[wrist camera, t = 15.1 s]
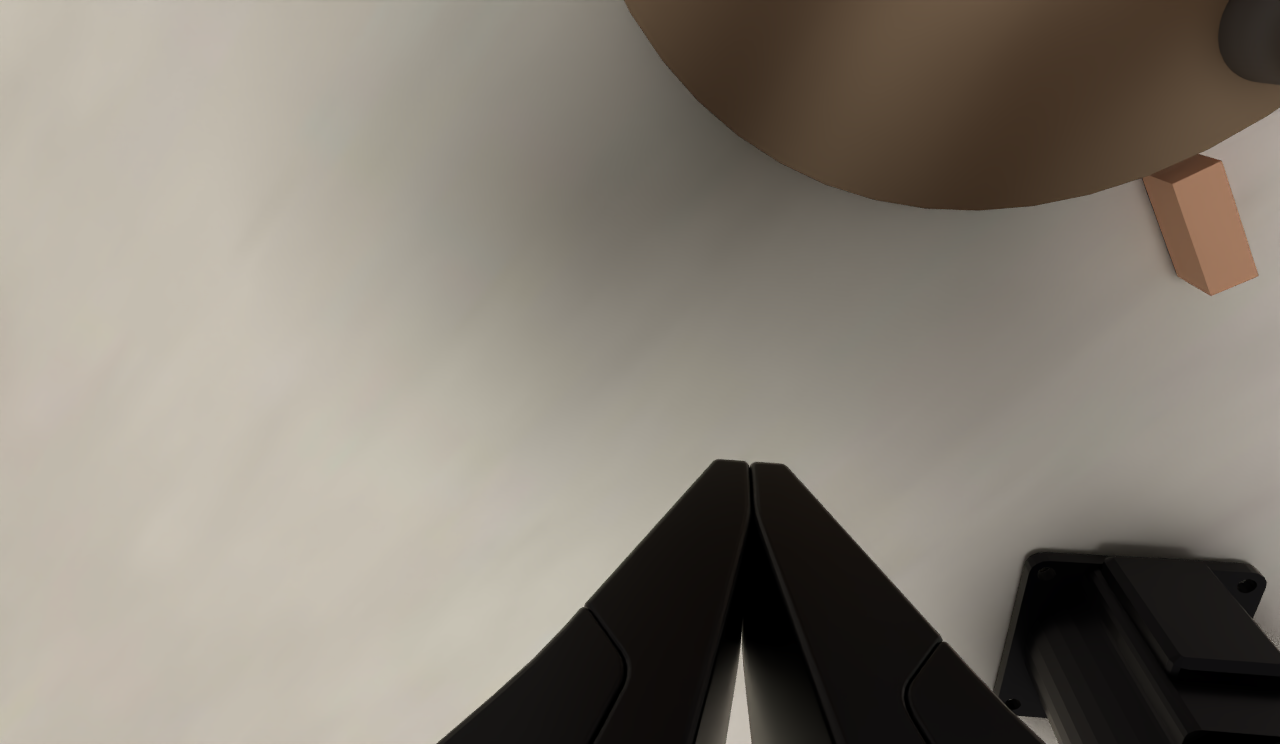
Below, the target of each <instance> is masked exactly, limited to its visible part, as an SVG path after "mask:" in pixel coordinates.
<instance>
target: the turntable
mask: <svg viewBox="0 0 1280 744" xmlns="http://www.w3.org/2000/svg"><path fill="white" fill-rule="evenodd" d="M624 1H625V3H626V5H627V7H628V9H629V11H630V13H631V15H632V16H633V17H634V19H635V20H636V22H637V23H638V25H639V26H640V28H641V29H642V31H643V32H644V34H645V35H646V37H647V38H648V40H649V41H650V43H651V44H652V46H653V47H654V49H655V50H656V52H657V53H658V55H659V56H660V58H661V59H662V61H663V62H664V63H665V64H666V65H667V66H668V67H669V69H670V70H671V71H672V72H673V73H674V74H675V75H676V76H677V78H678V79H679V80H680V81H681V82H682V83H683V84H684V86H685V87H686V88H687V89H688V90H689V91H690V92H691V94H692V95H693V96H694V97H695V98H696V99H697V100H698V101H699V102H700V103H701V104H702V105H703V106H704V107H706V108H707V109H708V110H709V111H710V112H711V113H712V114H714V115H715V116H716V117H717V118H718V119H719V120H721V121H722V122H723V123H724V124H725V125H726V126H727V127H729V128H730V129H731V130H732V131H733V132H734V133H735V134H737V135H738V136H739V137H741V138H743V139H744V140H746V141H747V142H749V143H750V144H752V145H753V146H755V147H756V148H758V149H759V150H761V151H762V152H764V153H766V154H767V155H769V156H770V157H772V158H773V159H775V160H776V161H778V162H779V163H781V164H783V165H785V166H788V167H790V168H792V169H794V170H796V171H798V172H800V173H802V174H804V175H807V176H809V177H811V178H813V179H815V180H817V181H819V182H821V183H824V184H826V185H829V186H832V187H835V188H838V189H842V190H845V191H848V192H851V193H854V194H858V195H861V196H864V197H867V198H870V199H874V200H879V201H885V202H891V203H897V204H902V205H908V206H914V207H920V208H928V209H953V210H990V209H1002V208H1014V207H1026V206H1035V205H1040V204H1045V203H1050V202H1055V201H1060V200H1065V199H1070V198H1075V197H1080V196H1085V195H1090V194H1093V193H1096V192H1099V191H1102V190H1105V189H1109V188H1112V187H1115V186H1118V185H1121V184H1124V183H1127V182H1130V181H1133V180H1137V179H1140V178H1143V177H1146V176H1149V175H1151V174H1153V173H1156V172H1158V171H1160V170H1162V169H1165V168H1167V167H1169V166H1172V165H1174V164H1176V163H1178V162H1181V161H1183V160H1185V159H1187V158H1190V157H1192V156H1194V155H1196V154H1199V153H1201V152H1203V151H1206V150H1208V149H1210V148H1211V147H1213V146H1215V145H1217V144H1218V143H1220V142H1222V141H1224V140H1226V139H1227V138H1229V137H1231V136H1233V135H1234V134H1236V133H1238V132H1240V131H1241V130H1243V129H1245V128H1247V127H1248V126H1250V125H1252V124H1254V123H1256V122H1257V121H1259V120H1261V119H1263V118H1264V117H1266V116H1268V115H1269V114H1271V113H1272V112H1274V111H1275V110H1277V109H1278V108H1279V107H1280V0H624Z"/></svg>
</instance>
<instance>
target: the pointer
mask: <svg viewBox="0 0 1280 744" xmlns="http://www.w3.org/2000/svg"><path fill="white" fill-rule="evenodd" d="M1142 179H1143V181H1144V184H1145V187H1146V190H1147V193H1148V195H1149V198H1150V201H1151V204H1152V206H1153V209H1154V212H1155V215H1156V218H1157V220H1158V223H1159V226H1160V229H1161V232H1162V234H1163V237H1164V240H1165V243H1166V245H1167V248H1168V251H1169V254H1170V257H1171V259H1172V262H1173V265H1174V268H1175V270H1176V273H1177V276H1178V277H1180V278H1181V279H1183V280H1185V281H1186V282H1188V283H1190V284H1191V285H1193V286H1195V287H1197V288H1198V289H1200V290H1202V291H1203V292H1205V293H1207V294H1208V295H1210V296H1212V295H1215V294H1217V293H1219V292H1222V291H1224V290H1226V289H1229V288H1231V287H1234V286H1236V285H1238V284H1241V283H1243V282H1245V281H1248V280H1250V279H1253V278H1255V277H1257V276H1258V273H1257V270H1256V266H1255V263H1254V260H1253V257H1252V254H1251V251H1250V248H1249V245H1248V241H1247V238H1246V235H1245V232H1244V229H1243V226H1242V223H1241V220H1240V216H1239V213H1238V210H1237V207H1236V204H1235V201H1234V198H1233V195H1232V191H1231V188H1230V185H1229V182H1228V179H1227V176H1226V173H1225V170H1224V166H1223V163H1222V161H1221V160H1217V159H1214V158H1210V157H1207V156H1203V155H1200V154H1196V155H1194V156H1192V157H1190V158H1187V159H1185V160H1183V161H1181V162H1178V163H1176V164H1174V165H1172V166H1169V167H1167V168H1165V169H1162V170H1160V171H1158V172H1156V173H1153V174H1151V175H1149V176H1146V177H1143V178H1142Z"/></svg>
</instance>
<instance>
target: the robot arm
mask: <svg viewBox="0 0 1280 744" xmlns="http://www.w3.org/2000/svg"><path fill="white" fill-rule="evenodd" d="M1046 567H1049V569H1048V570H1046V571H1044V572H1039V570H1041V569H1042V568H1046ZM1243 580H1246V581H1245V582H1243V583H1240V582H1241V581H1243ZM1266 583H1267V582H1266V580H1265V578H1264V577H1263V575H1262V574H1261V573H1260V572H1259V571H1258V570H1257V569H1256V568H1255V567H1253V566H1252V565H1249V564H1244V563H1226V562H1208V561H1197V560H1179V559H1161V558H1144V557H1126V556H1102V555H1085V554H1067V553H1050V552H1042V553H1037V554H1034V555H1032V556H1030V557H1029V558H1028V559H1027V560H1026V562H1025V564H1024V568H1023V572H1022V576H1021V581H1020V585H1019V589H1018V593H1017V597H1016V601H1015V606H1014V610H1013V614H1012V618H1011V622H1010V626H1009V630H1008V635H1007V639H1006V643H1005V647H1004V651H1003V655H1002V660H1001V664H1000V668H999V672H998V676H997V680H996V684H995V689H994V692H993V691H992V690H991V689H990V688H989V687H988V686H987V685H986V684H985V683H984V682H983V681H982V680H981V679H980V678H979V677H978V676H977V674H976V673H975V672H974V671H973V670H972V669H971V668H970V667H969V666H968V665H967V664H966V663H965V662H964V661H963V659H962V658H961V657H960V656H959V655H958V654H957V653H956V652H955V651H954V649H953V648H952V647H951V646H950V645H949V644H948V643H947V642H942V637H941V636H940V634H939V633H938V632H937V631H936V630H935V629H934V628H933V627H932V626H931V625H930V623H929V622H928V621H927V620H926V619H925V618H924V617H923V616H922V615H921V614H920V612H919V611H918V610H917V609H916V608H915V607H914V606H913V605H912V604H911V602H910V601H909V600H908V599H907V598H906V597H905V596H904V595H903V594H902V593H901V591H900V590H899V589H898V588H897V587H896V586H895V585H894V584H893V583H892V582H891V580H890V579H889V578H888V577H887V576H886V575H885V574H884V573H883V572H882V570H881V569H880V568H879V567H878V566H877V565H876V564H875V563H874V562H873V561H872V559H871V558H870V557H869V556H868V555H867V554H866V553H865V552H864V551H863V550H862V548H861V547H860V546H859V545H858V544H857V543H856V542H855V541H854V540H853V539H852V537H851V536H850V535H849V534H848V533H847V532H846V531H845V530H844V529H843V527H842V526H841V525H840V524H839V523H838V522H837V521H836V520H835V519H834V518H833V516H832V515H831V514H830V513H829V512H828V511H827V510H826V509H825V508H824V507H823V505H822V504H821V503H820V502H819V501H818V500H817V499H816V498H815V497H814V495H813V494H812V493H811V492H810V491H809V490H808V489H807V488H806V487H805V486H804V484H803V483H802V482H801V481H800V480H799V479H798V478H797V477H796V476H795V475H794V473H793V472H792V471H791V470H790V469H789V468H788V467H787V466H786V465H784V464H779V463H765V462H754V463H752V464H751V466H750V468H749V465H748V463H747V462H745V461H737V460H723V459H717V460H715V461H713V462H712V463H711V464H710V465H709V467H708V468H707V469H706V470H705V471H704V472H703V473H702V474H701V476H700V477H699V478H698V479H697V480H696V481H695V482H694V483H693V484H692V486H691V487H690V488H689V489H688V490H687V491H686V492H685V493H684V494H683V496H682V497H681V498H680V499H679V500H678V501H677V502H676V503H675V504H674V506H673V507H672V508H671V509H670V510H669V511H668V512H667V513H666V514H665V516H664V517H663V518H662V519H661V520H660V521H659V522H658V523H657V524H656V526H655V527H654V528H653V529H652V530H651V531H650V532H649V533H648V534H647V536H646V537H645V538H644V539H643V540H642V541H641V542H640V543H639V544H638V546H637V547H636V548H635V549H634V550H633V551H632V552H631V553H630V554H629V556H628V557H627V558H626V559H625V560H624V561H623V562H622V563H621V564H620V566H619V567H618V568H617V569H616V570H615V571H614V572H613V573H612V574H611V576H610V577H609V578H608V579H607V580H606V581H605V582H604V583H603V584H602V586H601V587H600V588H599V589H598V590H597V591H596V592H595V593H594V594H593V596H592V597H591V598H590V599H589V600H588V601H587V602H586V603H585V606H584V607H582V608H580V609H579V610H578V612H577V613H576V614H575V615H574V616H573V617H572V618H571V620H570V621H569V622H568V623H567V624H566V625H565V626H564V627H563V628H562V629H561V631H560V632H559V633H558V634H557V635H556V636H555V637H554V638H553V639H552V640H551V641H550V642H549V643H548V644H547V645H546V646H545V647H544V648H543V649H542V650H541V651H540V652H539V653H538V654H537V655H536V656H535V657H534V658H533V659H532V660H531V661H530V662H529V663H528V664H527V665H526V666H525V667H524V668H522V669H521V670H520V671H519V672H518V673H517V674H516V675H515V676H514V677H513V678H511V679H510V680H509V681H508V682H507V683H506V684H505V685H504V686H503V687H502V688H500V689H499V690H498V691H497V692H496V693H495V694H494V695H493V696H491V697H490V698H489V699H488V700H487V701H486V702H484V703H483V704H482V705H481V706H480V707H479V708H477V709H476V710H475V711H474V712H473V713H472V714H471V715H469V716H468V717H467V718H466V719H465V720H464V721H462V722H461V723H460V724H459V725H458V726H457V727H455V728H454V729H453V730H452V731H451V732H450V733H448V734H447V735H446V736H445V737H444V738H443V739H441V740H440V741H439V742H438V743H437V744H726V738H727V732H728V725H729V719H730V713H731V707H732V701H733V694H734V688H735V682H736V676H737V669H738V662H739V654H740V645H741V634H742V654H743V667H744V677H745V686H746V695H747V705H748V714H749V723H750V732H751V742H752V744H1046V743H1045V742H1044V741H1043V740H1042V739H1041V738H1040V737H1038V736H1037V735H1036V734H1035V733H1034V732H1033V731H1032V730H1031V729H1030V728H1029V727H1028V726H1027V725H1026V724H1025V723H1024V722H1023V721H1022V720H1021V719H1020V718H1019V717H1017V716H1028V717H1040V718H1048V720H1049V722H1050V724H1051V727H1052V729H1053V731H1054V734H1055V736H1056V738H1057V741H1058V743H1059V744H1280V651H1279V650H1278V649H1277V647H1276V646H1275V645H1274V644H1273V643H1272V642H1271V640H1270V639H1269V638H1268V637H1267V636H1266V634H1265V633H1264V632H1263V631H1262V630H1261V629H1260V627H1259V626H1258V625H1257V624H1256V623H1255V622H1254V620H1253V617H1254V614H1255V612H1256V610H1257V607H1258V605H1259V602H1260V600H1261V598H1262V595H1263V593H1264V591H1265V588H1266ZM1009 699H1012V700H1009Z"/></svg>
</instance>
